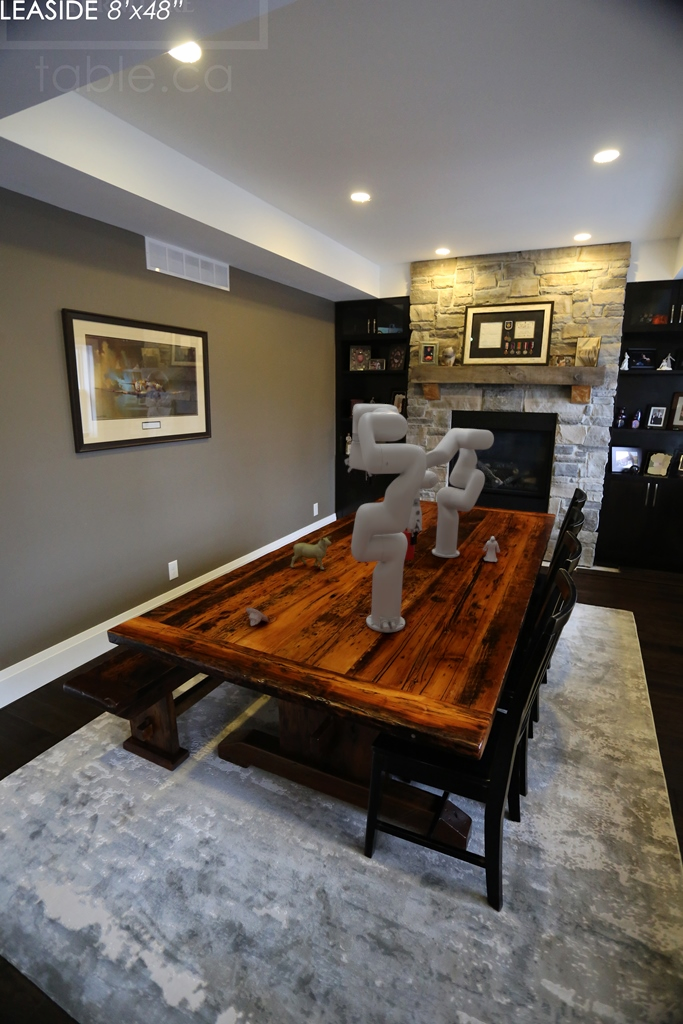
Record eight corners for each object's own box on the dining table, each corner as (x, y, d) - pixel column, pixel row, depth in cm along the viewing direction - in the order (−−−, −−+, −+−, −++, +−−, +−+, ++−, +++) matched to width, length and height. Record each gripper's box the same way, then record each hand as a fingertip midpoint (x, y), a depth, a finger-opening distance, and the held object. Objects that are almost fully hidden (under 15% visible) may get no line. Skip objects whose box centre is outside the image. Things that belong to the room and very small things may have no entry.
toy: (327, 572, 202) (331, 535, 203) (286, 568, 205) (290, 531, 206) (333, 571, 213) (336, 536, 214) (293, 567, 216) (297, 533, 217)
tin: (411, 560, 212) (412, 533, 209) (400, 558, 214) (401, 531, 211) (415, 556, 216) (417, 530, 213) (404, 554, 219) (405, 528, 216)
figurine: (481, 562, 222) (483, 536, 219) (482, 556, 230) (484, 531, 227) (499, 564, 220) (501, 538, 217) (499, 558, 228) (501, 533, 225)
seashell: (251, 634, 162) (235, 615, 161) (262, 623, 165) (246, 604, 164) (262, 630, 156) (245, 610, 155) (273, 618, 159) (257, 599, 158)
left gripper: (387, 440, 178) (385, 487, 182) (353, 436, 190) (352, 480, 194) (373, 441, 173) (371, 489, 177) (338, 437, 185) (338, 482, 189)
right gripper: (431, 504, 204) (429, 546, 209) (404, 496, 218) (402, 536, 223) (417, 507, 200) (415, 550, 205) (390, 498, 214) (389, 539, 218)
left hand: (361, 484), depth 186 cm, fingers open, 9 cm apart
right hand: (408, 542), depth 214 cm, fingers closed on tin, 5 cm apart
